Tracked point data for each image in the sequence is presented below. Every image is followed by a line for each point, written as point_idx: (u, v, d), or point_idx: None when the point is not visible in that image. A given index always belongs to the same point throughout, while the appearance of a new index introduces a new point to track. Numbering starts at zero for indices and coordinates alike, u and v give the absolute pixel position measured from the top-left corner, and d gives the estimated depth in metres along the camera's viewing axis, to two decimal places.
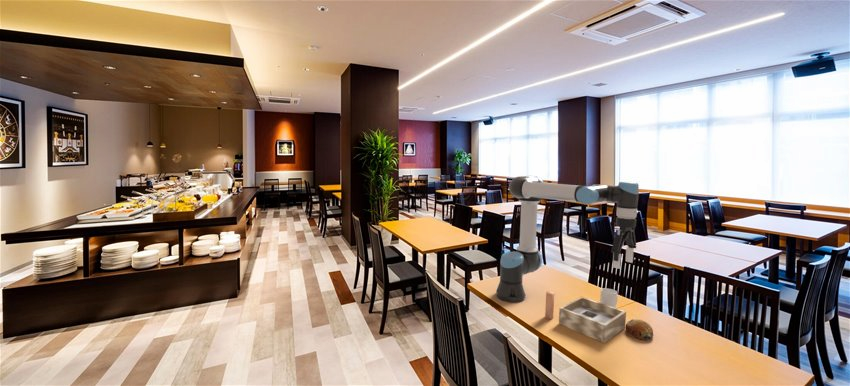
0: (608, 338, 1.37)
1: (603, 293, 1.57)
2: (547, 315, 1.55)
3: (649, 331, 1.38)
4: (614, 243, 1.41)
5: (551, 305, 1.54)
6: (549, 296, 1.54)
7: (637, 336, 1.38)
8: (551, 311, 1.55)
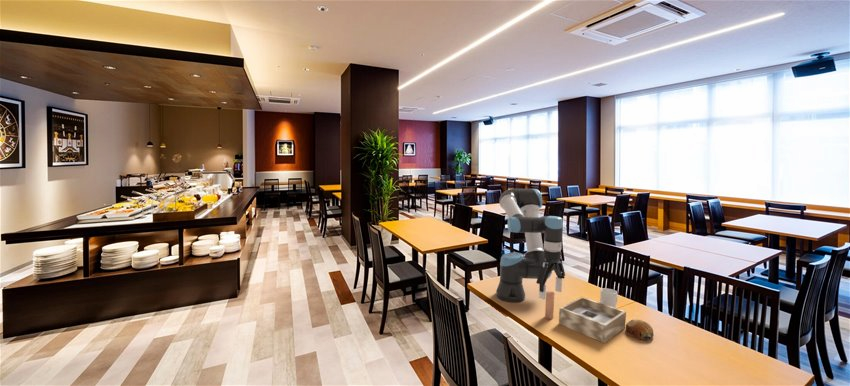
0: (608, 338, 1.37)
1: (603, 293, 1.57)
2: (547, 315, 1.55)
3: (649, 331, 1.38)
4: (539, 275, 1.49)
5: (551, 305, 1.54)
6: (549, 296, 1.54)
7: (637, 336, 1.38)
8: (551, 311, 1.55)
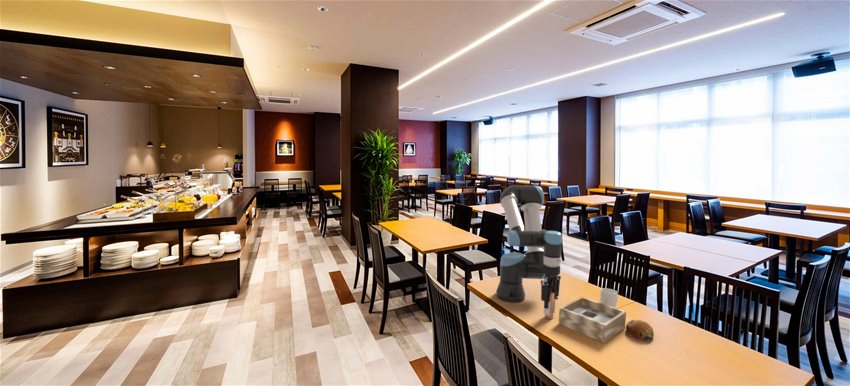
0: (608, 338, 1.37)
1: (603, 293, 1.57)
2: (547, 315, 1.55)
3: (649, 331, 1.38)
4: (542, 293, 1.52)
5: (551, 305, 1.54)
6: None
7: (637, 336, 1.38)
8: (551, 311, 1.55)
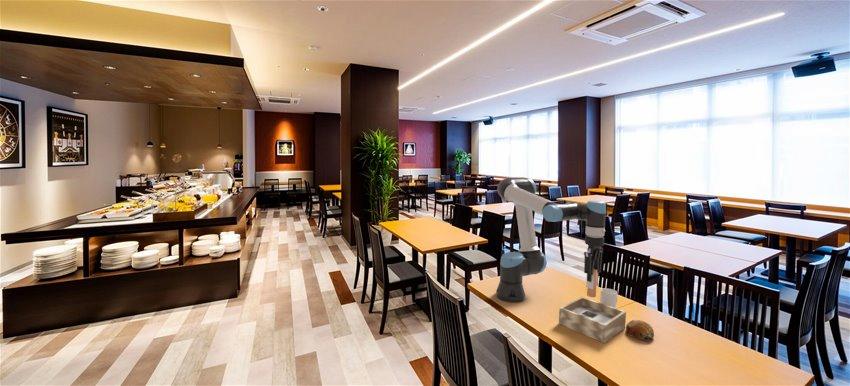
0: (608, 338, 1.37)
1: (603, 293, 1.57)
2: (590, 293, 1.49)
3: (650, 332, 1.38)
4: (585, 265, 1.46)
5: (594, 282, 1.48)
6: None
7: (638, 337, 1.38)
8: (594, 289, 1.48)
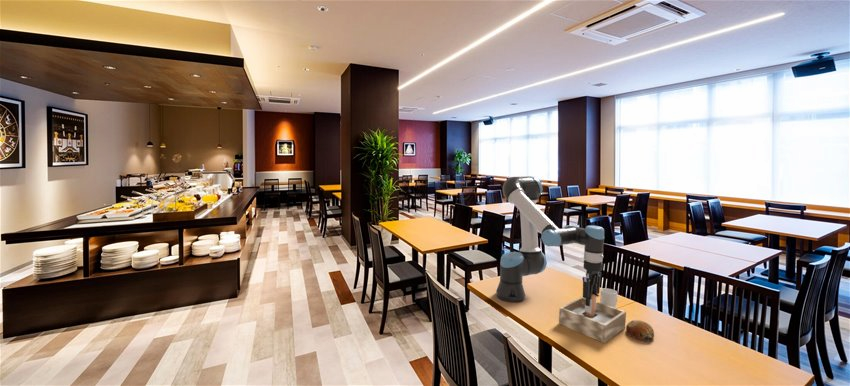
0: (608, 338, 1.37)
1: (603, 293, 1.57)
2: None
3: (650, 332, 1.37)
4: (584, 290, 1.47)
5: (592, 307, 1.49)
6: None
7: (638, 337, 1.38)
8: (592, 314, 1.50)
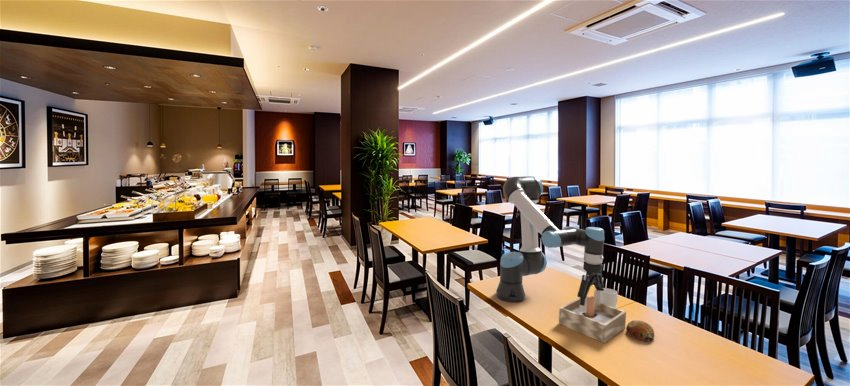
0: (608, 338, 1.37)
1: (603, 293, 1.57)
2: None
3: (650, 332, 1.37)
4: (580, 288, 1.45)
5: (592, 310, 1.50)
6: (589, 301, 1.49)
7: (638, 337, 1.38)
8: (592, 316, 1.50)
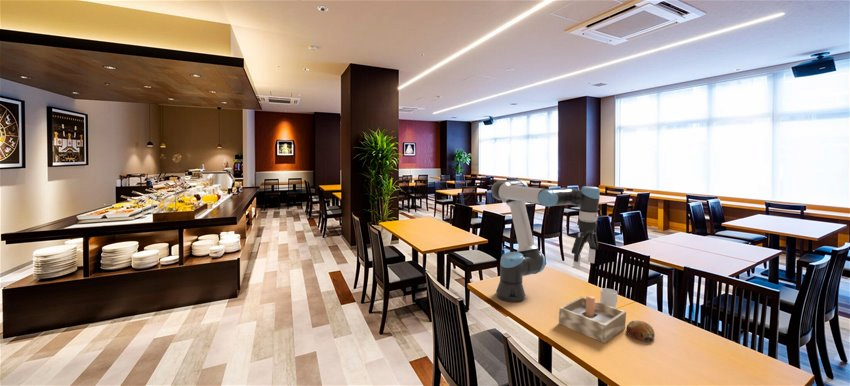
0: (608, 338, 1.37)
1: (603, 293, 1.57)
2: None
3: (650, 332, 1.37)
4: (574, 245, 1.48)
5: (592, 310, 1.50)
6: (589, 301, 1.49)
7: (638, 337, 1.37)
8: (592, 316, 1.50)
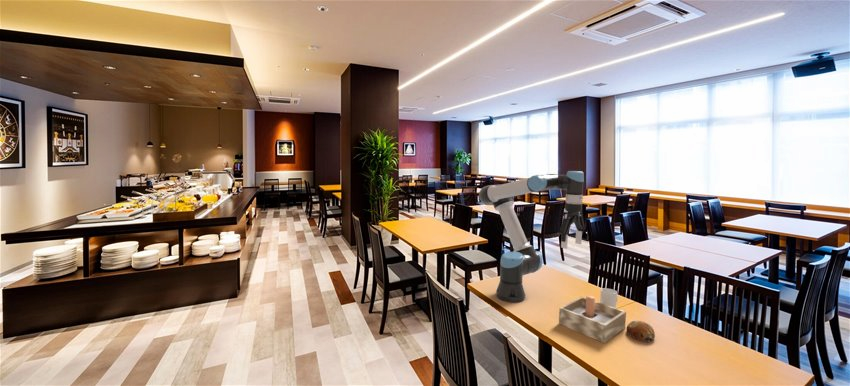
0: (608, 338, 1.37)
1: (603, 293, 1.57)
2: None
3: (651, 333, 1.37)
4: (562, 226, 1.58)
5: (592, 310, 1.50)
6: (589, 301, 1.49)
7: (638, 338, 1.37)
8: (592, 316, 1.50)
